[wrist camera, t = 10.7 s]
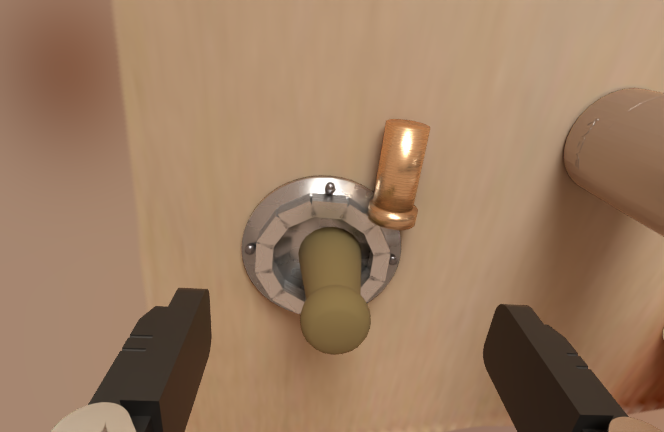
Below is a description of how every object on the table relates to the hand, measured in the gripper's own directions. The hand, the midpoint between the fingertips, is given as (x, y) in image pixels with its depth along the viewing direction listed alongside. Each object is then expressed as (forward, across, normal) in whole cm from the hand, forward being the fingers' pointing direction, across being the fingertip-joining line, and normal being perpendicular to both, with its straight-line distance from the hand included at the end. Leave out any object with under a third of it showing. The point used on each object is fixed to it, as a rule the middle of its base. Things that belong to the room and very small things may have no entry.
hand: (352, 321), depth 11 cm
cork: (+24, -1, +12) cm, 27 cm away
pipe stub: (+25, -6, +3) cm, 26 cm away
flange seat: (+25, 0, +12) cm, 27 cm away
